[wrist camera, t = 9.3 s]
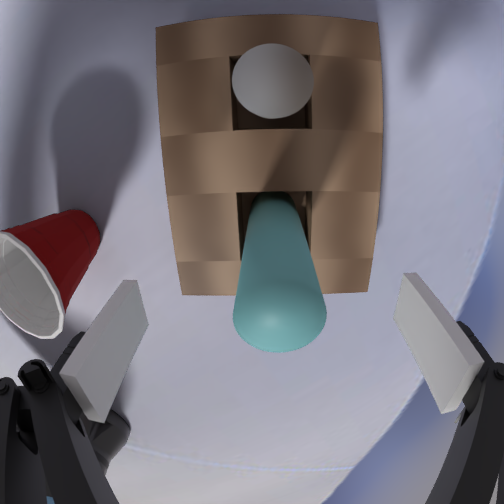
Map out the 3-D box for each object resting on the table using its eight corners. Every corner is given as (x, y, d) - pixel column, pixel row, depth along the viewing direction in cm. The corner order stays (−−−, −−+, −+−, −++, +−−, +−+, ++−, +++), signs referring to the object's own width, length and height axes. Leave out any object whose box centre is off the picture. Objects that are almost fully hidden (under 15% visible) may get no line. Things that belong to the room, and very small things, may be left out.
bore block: (194, 267, 30) (163, 340, 20) (174, 41, 21) (120, 3, 11) (353, 265, 29) (388, 336, 19) (358, 37, 20) (411, -2, 10)
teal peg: (251, 233, 27) (236, 352, 14) (249, 189, 25) (229, 279, 12) (295, 232, 27) (322, 350, 13) (296, 188, 25) (330, 277, 12)
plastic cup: (44, 260, 31) (-15, 314, 20) (47, 177, 26) (-31, 214, 16) (115, 291, 32) (65, 362, 21) (128, 204, 27) (58, 259, 17)
